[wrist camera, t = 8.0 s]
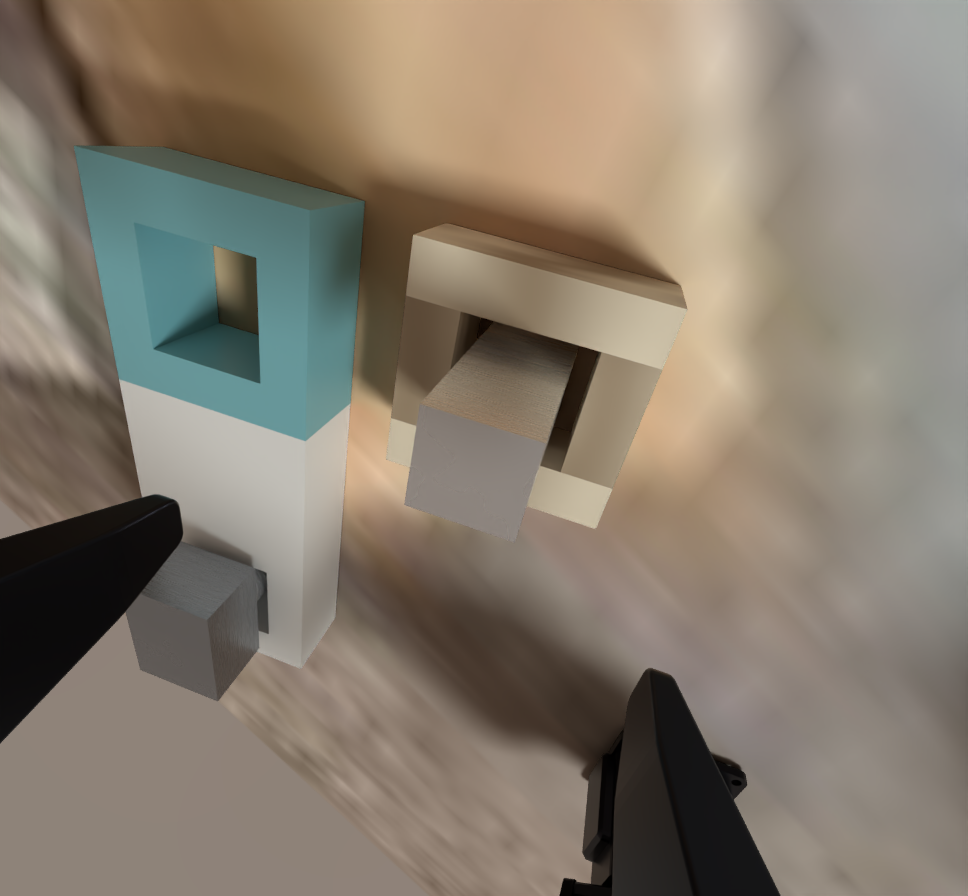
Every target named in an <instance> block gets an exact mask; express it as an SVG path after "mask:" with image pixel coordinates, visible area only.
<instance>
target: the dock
mask: <svg viewBox="0 0 968 896" xmlns="http://www.w3.org/2000/svg"><path fill="white" fill-rule="evenodd" d="M74 149H75V154H76V160H77V165H78V170H79V175H80V180H81V185H82V191H83V196H84V201H85V206H86V211H87V216H88V221H89V227H90V232H91V237H92V242H93V247H94V252H95V258H96V263H97V268H98V273H99V278H100V283H101V289H102V294H103V299H104V304H105V309H106V314H107V319H108V325H109V330H110V335H111V340H112V345H113V350H114V356H115V361H116V366H117V371H118V376H119V381H120V386H121V392H122V397H123V402H124V407H125V412H126V417H127V423H128V428H129V433H130V438H131V443H132V448H133V453H134V459H135V464H136V469H137V474H138V479H139V484H140V490H141V495H142V497H145V496H149V495H153V494H159V495H163V496H166V497H169V498H171V499H174V500H176V501H177V502H178V504H179V506H180V512H181V518H182V525H183V537H182V540H181V541H182V542H185V543H188V544H190V545H193V546H196V547H198V548H201V549H204V550H207V551H209V552H212V553H215V554H218V555H221V556H223V557H226V558H229V559H231V560H234V561H237V562H239V563H242V564H245V565H247V566H250V567H253V568H256V569H258V570H261V571H264V572H266V573H267V591H266V592H265V593H264V594H263V596H262V597H261V598H260V599H259V600H258V601H257V611H258V629H259V649H258V650H257V652H259V653H262V654H264V655H267V656H269V657H272V658H275V659H277V660H280V661H282V662H285V663H287V664H290V665H292V666H295V667H297V668H300V669H301V668H302V667H303V665H304V664H305V662H306V661H307V659H308V658H309V656H310V655H311V653H312V652H313V650H314V649H315V647H316V646H317V644H318V643H319V641H320V640H321V638H322V637H323V635H324V634H325V632H326V631H327V629H328V628H329V626H330V625H331V623H332V622H333V620H334V619H335V615H336V600H337V586H338V572H339V558H340V544H341V530H342V516H343V502H344V488H345V474H346V460H347V446H348V431H349V417H350V403H351V389H352V375H353V361H354V347H355V333H356V319H357V305H358V291H359V276H360V262H361V248H362V234H363V220H364V206H365V201H363V200H359V199H355V198H352V197H348V196H344V195H340V194H337V193H333V192H329V191H326V190H322V189H318V188H314V187H311V186H307V185H303V184H299V183H296V182H292V181H288V180H285V179H281V178H277V177H273V176H270V175H266V174H262V173H258V172H255V171H251V170H247V169H244V168H240V167H236V166H232V165H229V164H225V163H221V162H217V161H214V160H210V159H206V158H203V157H199V156H195V155H191V154H188V153H184V152H180V151H176V150H173V149H169V148H165V147H141V146H74ZM213 245H214V246H217V247H221V248H224V249H228V250H231V251H235V252H238V253H242V254H245V255H248V256H252V257H255V258H256V264H257V294H258V324H259V335H256V334H253V333H249V332H246V331H243V330H240V329H236V328H233V327H230V326H227V325H224V324H220V323H219V319H218V305H217V292H216V279H215V266H214V253H213Z"/></svg>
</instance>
